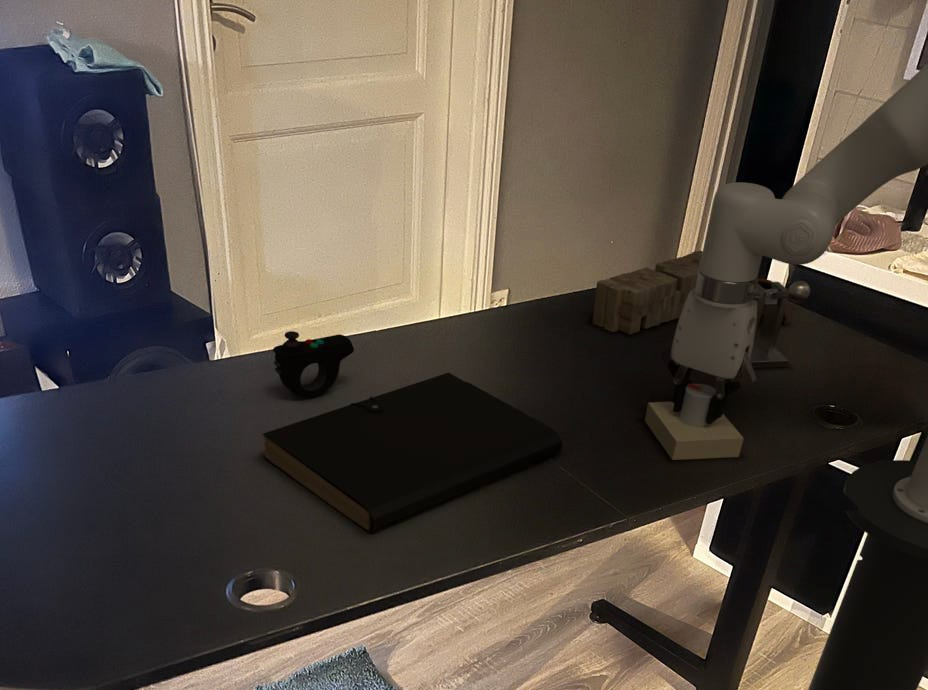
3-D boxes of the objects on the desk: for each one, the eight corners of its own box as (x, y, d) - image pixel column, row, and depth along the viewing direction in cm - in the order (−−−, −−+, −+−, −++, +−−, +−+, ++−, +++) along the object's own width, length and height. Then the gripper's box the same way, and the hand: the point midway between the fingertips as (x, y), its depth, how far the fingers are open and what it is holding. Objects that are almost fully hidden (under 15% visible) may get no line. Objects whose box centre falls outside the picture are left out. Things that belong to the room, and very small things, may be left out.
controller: (272, 396, 146) (267, 331, 139) (344, 380, 151) (342, 317, 145) (285, 408, 143) (281, 342, 136) (358, 390, 148) (357, 326, 142)
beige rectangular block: (739, 457, 137) (744, 437, 135) (672, 460, 136) (676, 440, 134) (707, 418, 147) (711, 399, 145) (644, 420, 145) (648, 401, 143)
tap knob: (715, 419, 140) (722, 387, 137) (701, 429, 137) (709, 397, 134) (688, 409, 142) (694, 378, 139) (673, 419, 139) (680, 388, 136)
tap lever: (813, 301, 149) (814, 279, 148) (794, 302, 149) (795, 279, 148) (771, 308, 162) (772, 288, 161) (753, 308, 161) (754, 288, 160)
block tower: (623, 342, 170) (725, 302, 185) (629, 294, 165) (734, 257, 179) (590, 327, 175) (692, 290, 189) (595, 280, 169) (700, 246, 184)
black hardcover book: (447, 369, 146) (564, 432, 133) (446, 394, 149) (560, 459, 135) (261, 430, 128) (373, 510, 115) (263, 458, 131) (373, 539, 118)
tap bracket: (786, 367, 163) (806, 297, 155) (742, 368, 161) (760, 298, 154) (762, 343, 170) (779, 275, 163) (719, 344, 169) (735, 276, 162)
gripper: (796, 296, 126) (761, 424, 137) (679, 264, 133) (655, 388, 145) (773, 311, 121) (739, 443, 133) (654, 278, 129) (631, 405, 140)
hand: (696, 413), depth 139 cm, fingers closed on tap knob, 4 cm apart
